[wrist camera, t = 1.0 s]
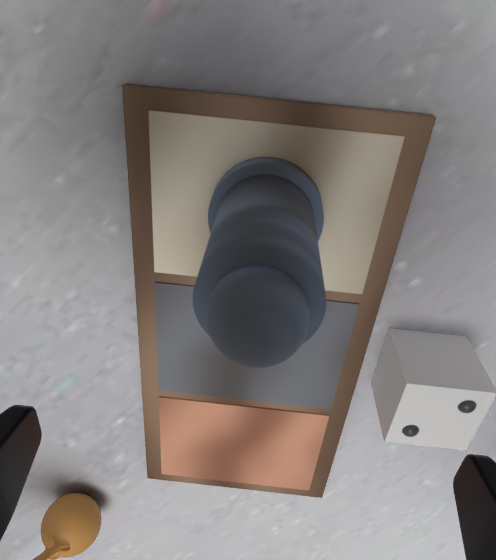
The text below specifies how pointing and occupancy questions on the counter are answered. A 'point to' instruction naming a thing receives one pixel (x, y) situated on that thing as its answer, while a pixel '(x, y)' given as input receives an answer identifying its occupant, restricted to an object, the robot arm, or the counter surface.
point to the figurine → (69, 526)
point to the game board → (189, 254)
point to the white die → (430, 389)
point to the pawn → (262, 263)
